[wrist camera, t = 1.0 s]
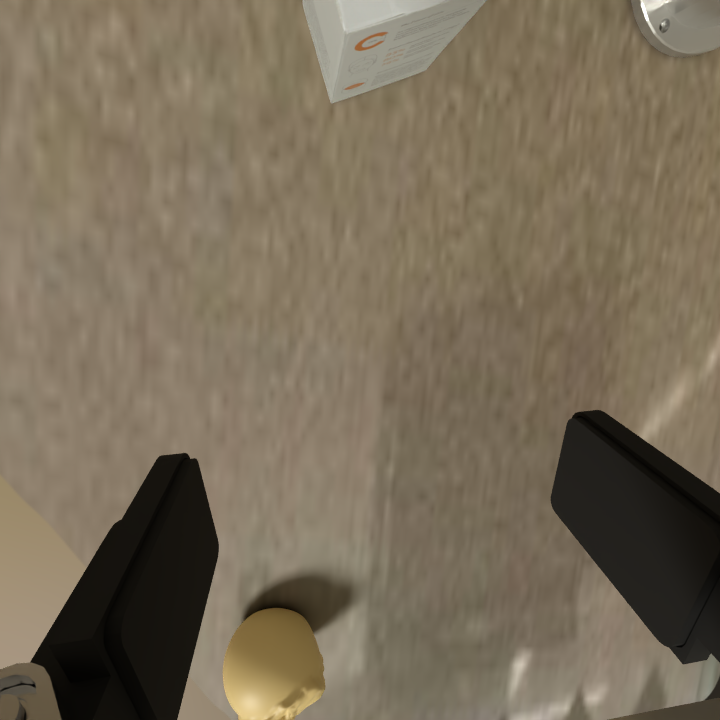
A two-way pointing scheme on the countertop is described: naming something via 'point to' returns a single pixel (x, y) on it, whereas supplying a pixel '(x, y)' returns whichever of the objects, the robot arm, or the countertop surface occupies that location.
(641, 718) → the robot arm
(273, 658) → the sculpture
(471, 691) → the countertop surface
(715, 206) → the countertop surface
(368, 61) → the small box
